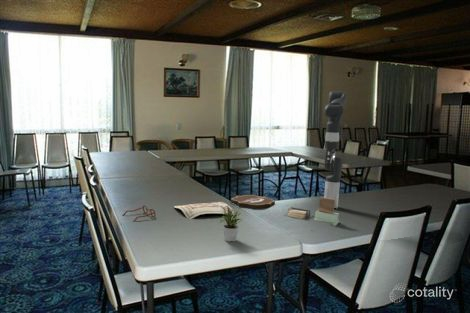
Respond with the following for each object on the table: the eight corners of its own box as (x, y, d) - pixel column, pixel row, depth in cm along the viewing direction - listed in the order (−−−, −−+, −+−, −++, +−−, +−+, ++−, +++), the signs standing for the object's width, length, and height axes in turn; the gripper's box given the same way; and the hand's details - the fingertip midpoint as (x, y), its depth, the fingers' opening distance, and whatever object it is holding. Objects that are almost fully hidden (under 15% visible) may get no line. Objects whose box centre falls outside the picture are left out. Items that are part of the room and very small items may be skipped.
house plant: (205, 239, 170) (207, 204, 169) (223, 232, 182) (225, 199, 180) (231, 247, 162) (233, 210, 161) (248, 239, 174) (250, 204, 172)
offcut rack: (289, 213, 225) (289, 206, 224) (312, 217, 218) (312, 210, 218) (282, 218, 214) (283, 210, 213) (306, 222, 208) (307, 214, 207)
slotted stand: (317, 218, 217) (318, 209, 217) (338, 222, 212) (339, 212, 211) (313, 221, 210) (314, 212, 209) (335, 225, 205) (336, 215, 204)
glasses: (156, 218, 200) (156, 209, 199) (133, 222, 191) (133, 212, 191) (144, 213, 210) (144, 204, 209) (121, 216, 201) (122, 207, 200)
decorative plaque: (258, 207, 224) (220, 198, 243) (257, 212, 225) (220, 203, 244) (285, 200, 248) (248, 192, 266) (284, 205, 248) (248, 197, 267)
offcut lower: (290, 214, 218) (290, 211, 218) (305, 216, 214) (305, 214, 214) (287, 216, 214) (287, 213, 213) (303, 218, 210) (303, 216, 210)
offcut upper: (290, 211, 217) (290, 209, 217) (306, 214, 214) (306, 211, 214) (288, 213, 213) (288, 211, 213) (304, 216, 209) (304, 213, 209)
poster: (216, 209, 239) (171, 211, 225) (217, 199, 238) (171, 200, 224) (237, 218, 214) (187, 220, 200) (238, 207, 214) (188, 208, 200)
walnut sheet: (318, 217, 214) (320, 197, 212) (333, 220, 210) (335, 199, 209) (318, 218, 212) (319, 197, 211) (332, 221, 208) (334, 199, 207)
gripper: (327, 138, 222) (326, 166, 224) (322, 140, 209) (320, 169, 211) (340, 139, 219) (338, 167, 221) (336, 141, 206) (334, 170, 208)
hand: (329, 168), depth 216 cm, fingers open, 8 cm apart
